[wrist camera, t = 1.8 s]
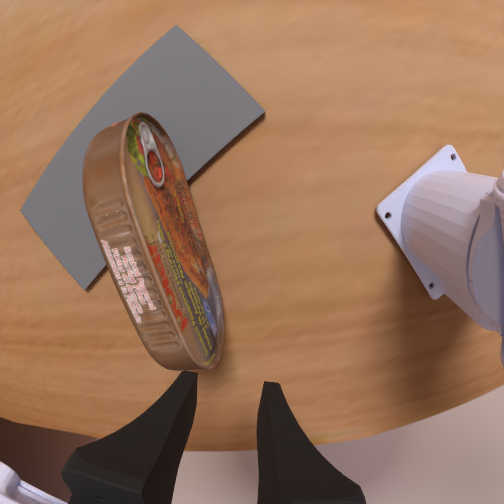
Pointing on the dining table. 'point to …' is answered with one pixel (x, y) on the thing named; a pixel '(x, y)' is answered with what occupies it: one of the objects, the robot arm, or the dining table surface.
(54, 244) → the mat
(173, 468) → the robot arm
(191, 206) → the tin
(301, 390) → the dining table surface
